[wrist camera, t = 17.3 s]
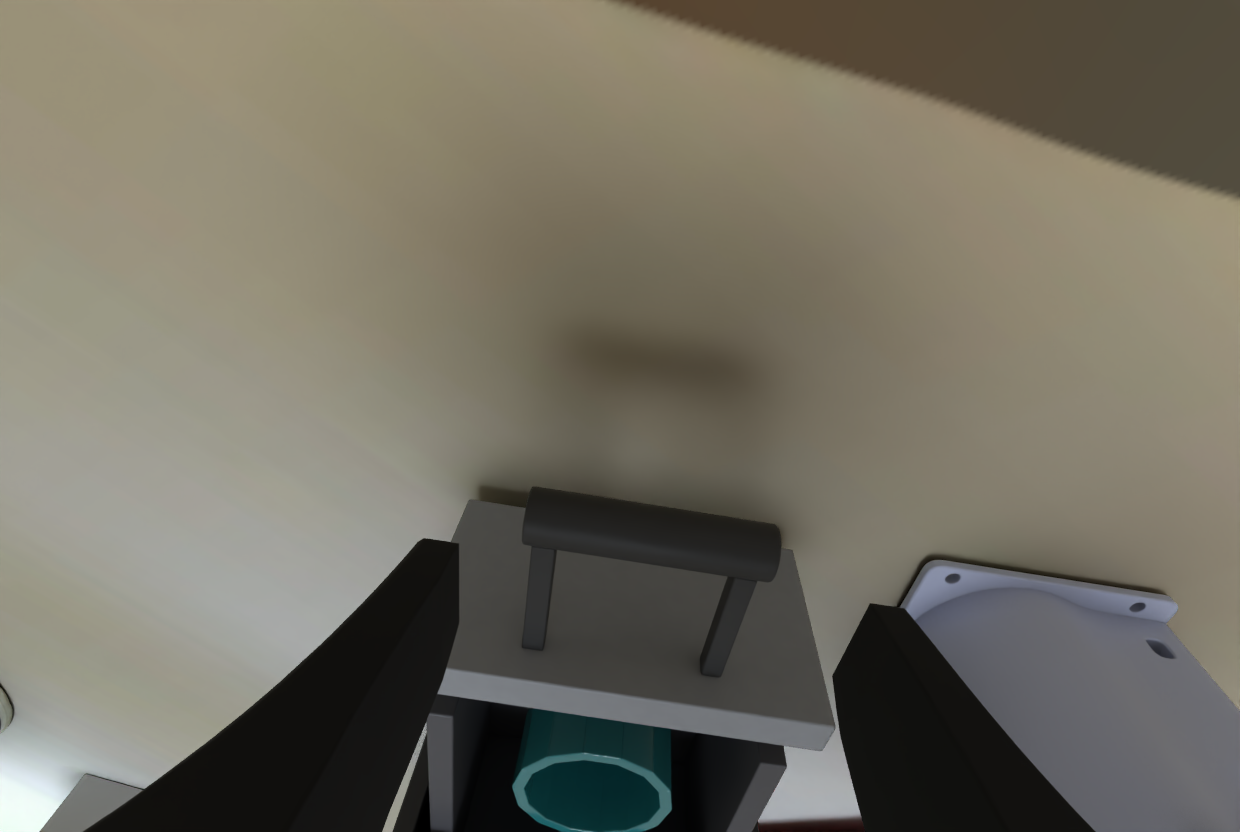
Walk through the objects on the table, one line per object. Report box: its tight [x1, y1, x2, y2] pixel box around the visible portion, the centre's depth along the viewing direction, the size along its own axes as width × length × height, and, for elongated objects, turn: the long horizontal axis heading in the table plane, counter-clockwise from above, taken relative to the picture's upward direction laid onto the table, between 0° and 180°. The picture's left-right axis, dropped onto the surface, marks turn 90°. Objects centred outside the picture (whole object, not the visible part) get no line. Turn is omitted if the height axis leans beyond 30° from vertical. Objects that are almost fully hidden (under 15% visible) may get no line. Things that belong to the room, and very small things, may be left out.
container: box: [512, 708, 672, 832], centre depth 22 cm, size 5×5×6 cm
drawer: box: [427, 487, 835, 832], centre depth 21 cm, size 19×12×7 cm, turn 172°
